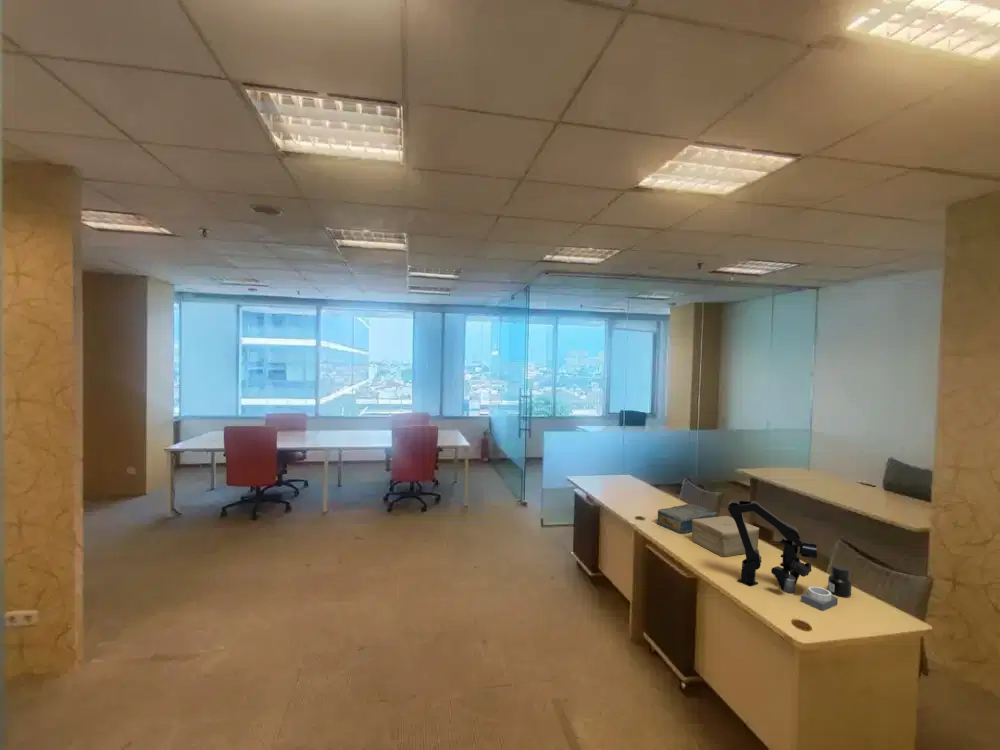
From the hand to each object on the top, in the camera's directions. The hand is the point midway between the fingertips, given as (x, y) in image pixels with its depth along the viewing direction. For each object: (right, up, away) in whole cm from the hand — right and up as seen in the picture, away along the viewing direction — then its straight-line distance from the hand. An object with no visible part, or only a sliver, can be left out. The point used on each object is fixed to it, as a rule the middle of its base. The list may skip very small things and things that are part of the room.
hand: (788, 587), depth 229 cm
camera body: (+7, -3, -11) cm, 13 cm away
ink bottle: (+23, -3, 0) cm, 23 cm away
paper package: (-6, 0, +53) cm, 53 cm away
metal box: (-15, +2, +86) cm, 87 cm away
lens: (0, -2, 0) cm, 2 cm away
